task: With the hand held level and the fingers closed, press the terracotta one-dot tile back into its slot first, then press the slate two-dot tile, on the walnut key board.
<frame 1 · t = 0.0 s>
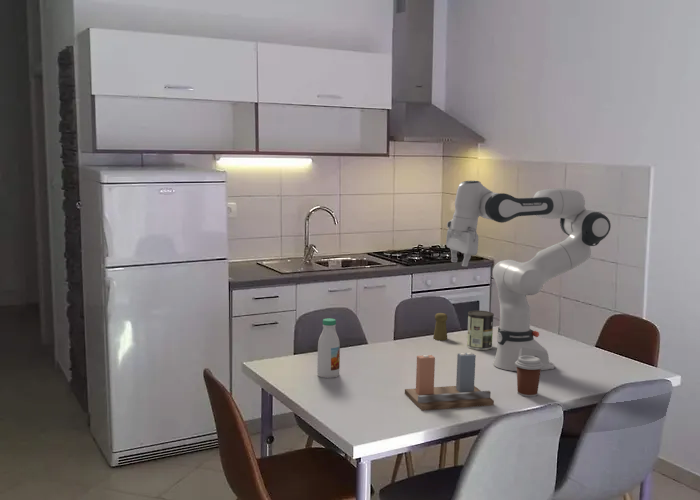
hand: (459, 264, 262), 39 cm above the table, tool pointing down, fingers open, 8 cm apart
key board: (448, 399, 235), on the table
milk bottle: (328, 375, 258), on the table
tile one: (425, 374, 235), point 8 cm above the table, slide at 0.0 cm
pepper mill: (440, 339, 311), on the table
tile two: (465, 372, 239), point 8 cm above the table, slide at 0.0 cm
coffee cup: (527, 394, 242), on the table
coffee can: (479, 347, 299), on the table
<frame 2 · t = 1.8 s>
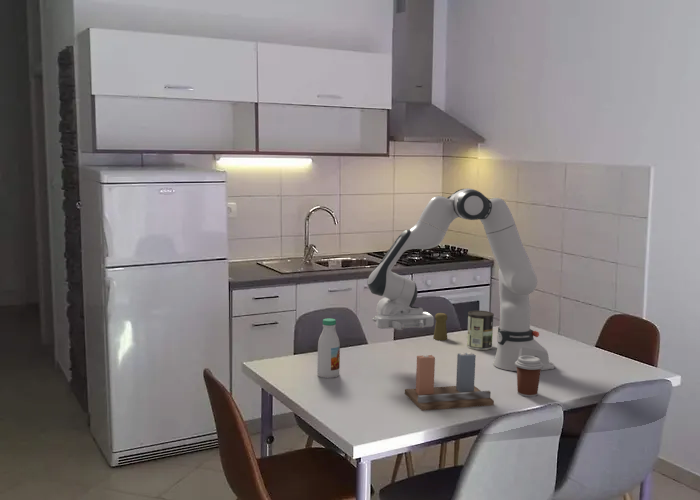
hand: (411, 326, 247), 20 cm above the table, tool horizontal, fingers open, 6 cm apart
nothing on the table moved.
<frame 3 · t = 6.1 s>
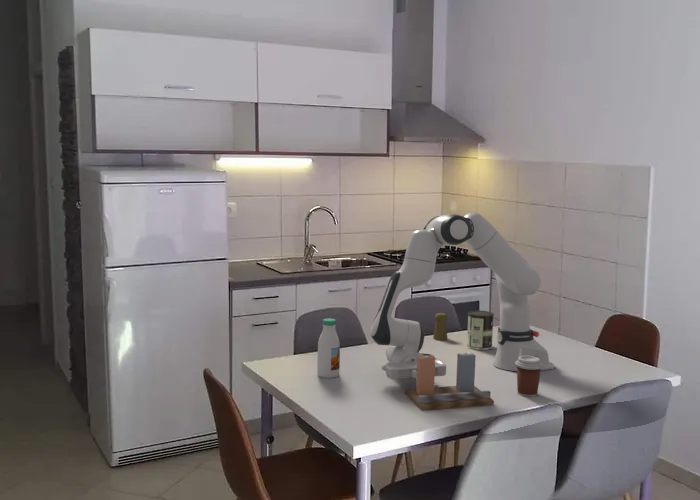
hand: (423, 376, 236), 7 cm above the table, tool horizontal, fingers closed, pressing on tile one
tile one: (425, 374, 235), point 8 cm above the table, slide at 0.2 cm, touching gripper
everything else where it was.
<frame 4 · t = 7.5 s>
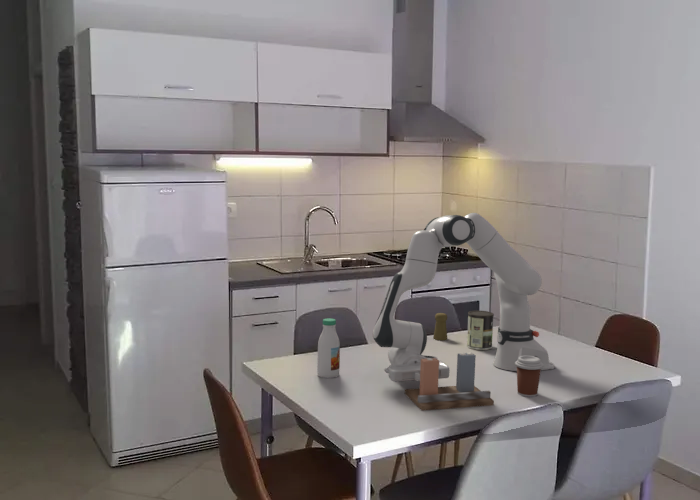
hand: (426, 379, 234), 6 cm above the table, tool horizontal, fingers closed
tile one: (429, 377, 232), point 8 cm above the table, slide at 3.5 cm
everything else where it was.
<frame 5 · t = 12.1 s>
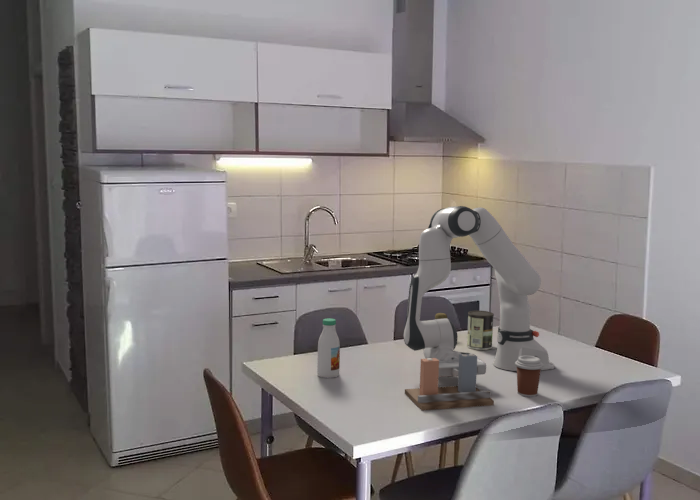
hand: (465, 375, 239), 7 cm above the table, tool horizontal, fingers closed, pressing on tile two
tile two: (467, 373, 237), point 8 cm above the table, slide at 1.3 cm, touching gripper
everything else where it was.
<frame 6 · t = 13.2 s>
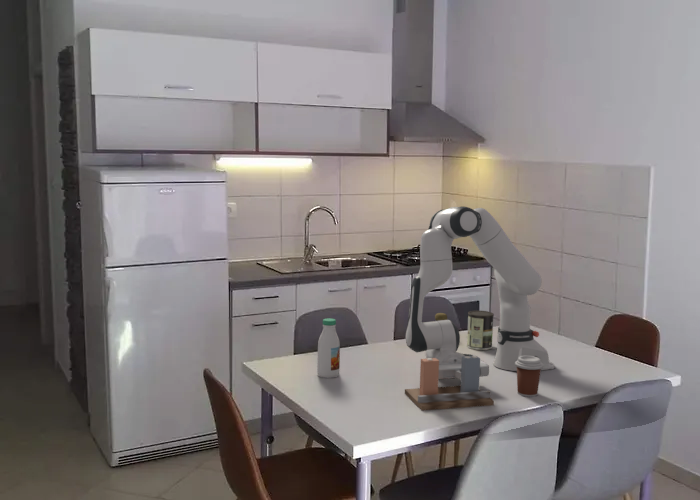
hand: (467, 377, 237), 6 cm above the table, tool horizontal, fingers closed
tile two: (470, 375, 235), point 8 cm above the table, slide at 3.5 cm
everything else where it was.
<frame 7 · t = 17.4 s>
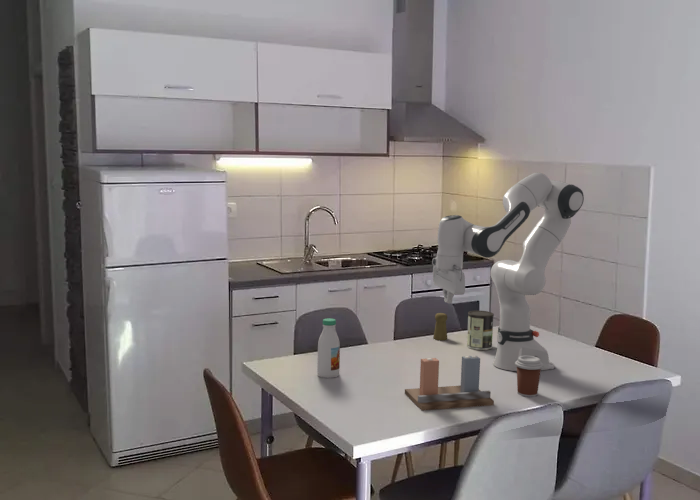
hand: (448, 302, 252), 27 cm above the table, tool pointing down, fingers closed
nothing on the table moved.
at the end: tile one slide at 3.5 cm; tile two slide at 3.5 cm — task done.
